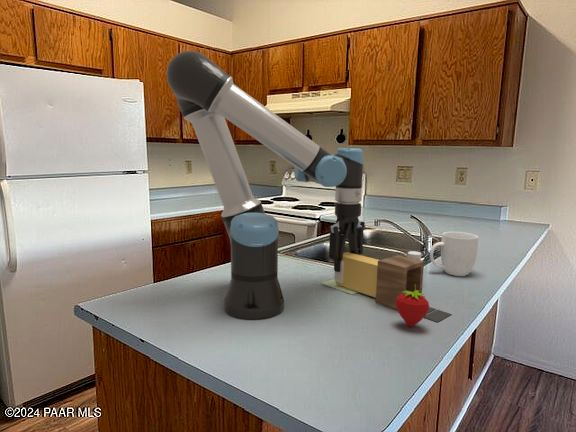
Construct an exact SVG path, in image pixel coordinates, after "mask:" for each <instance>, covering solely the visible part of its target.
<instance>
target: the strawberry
mask: <svg viewBox="0 0 576 432" xmlns="http://www.w3.org/2000/svg"><path fill="white" fill-rule="evenodd" d="M418 291H419V290H417V291H416V284H415V291H414V293H413V292H410V291H406V290H405V291H402V292H403V293H406V294H400V295H399V296H398V297H397V298H396V301H395V304H396V308H397V310H396V311H397V312H398V314H399V315H400V317H401V318H402V320H403V321H404V322H405V324H406V325H407V326H408V327H409V328H413V327H415V326H416V325H417V324H419V322H421V321H423V319H425V318H424V317H425V316H426V315H427V312H428V310H429V307H430V304H429V301H428V300H427V298H425V294H423V293H422V294H421V293H419V292H418Z"/></svg>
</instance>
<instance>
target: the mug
mask: <svg viewBox="0 0 576 432" xmlns="http://www.w3.org/2000/svg"><path fill="white" fill-rule="evenodd" d="M478 244H479V236H478V235H477V234H475V233H470V232H464V231H445V232H442V233H441V241H438V242H436V243H434V244H433V245H432V246H431V248H430V250H429V260H430V261H431V263H432V264H433V265H434V266H436V267H437V268H440V269H443V270H444V272H445V273H446V274H448V275H450V276H453V275H454V277H467V276H468V275H469V274H470V273H471V271H472V270H473V268H474V267H475V266H474V265H475V263H476V260H477V256H478V255H477V254H478V246H479V245H478ZM437 247H440V258H441V263H442V264H439V263H437V262H436V261H435V259H434V253H435V252H434V251H435V249H436V248H437ZM466 275H467V276H466Z"/></svg>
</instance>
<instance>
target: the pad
mask: <svg viewBox="0 0 576 432" xmlns="http://www.w3.org/2000/svg"><path fill="white" fill-rule="evenodd" d="M320 284H321V285H324V286H327V287H329V288H333V289H335V290H338V291H341V292H344V293H347V294H349V295H356V294H358V293H359V292H357V291H354V290H351V289H349V288H346V287H343V286H340V285H337V284H336V281H335V278H332V279H329V280H326V281H324V282H323V281H322V282H321V283H320Z"/></svg>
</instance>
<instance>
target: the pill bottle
mask: <svg viewBox="0 0 576 432" xmlns="http://www.w3.org/2000/svg"><path fill="white" fill-rule="evenodd" d="M406 257H407V258H412V259H416V260H420V261H423V259H422V252H419V251H415V250H410V251H407V255H406Z"/></svg>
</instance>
